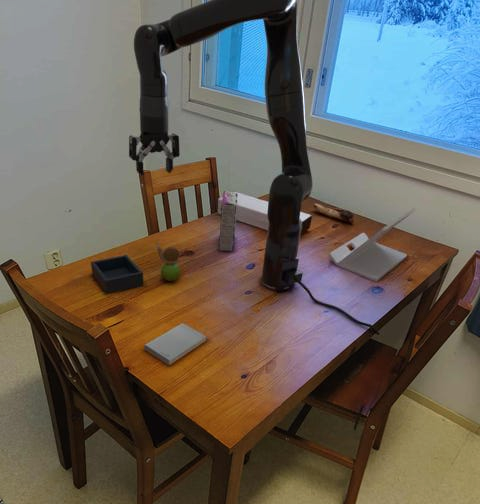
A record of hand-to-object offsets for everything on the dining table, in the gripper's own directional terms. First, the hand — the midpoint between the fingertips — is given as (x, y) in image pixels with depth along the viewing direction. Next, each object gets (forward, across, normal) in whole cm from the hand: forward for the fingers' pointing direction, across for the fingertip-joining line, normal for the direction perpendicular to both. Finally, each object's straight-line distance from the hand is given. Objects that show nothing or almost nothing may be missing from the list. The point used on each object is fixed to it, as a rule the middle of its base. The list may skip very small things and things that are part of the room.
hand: (155, 173), depth 132 cm
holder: (+25, -17, -12) cm, 33 cm away
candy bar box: (+25, +24, -4) cm, 35 cm away
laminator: (+25, +46, +6) cm, 52 cm away
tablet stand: (+25, +63, -32) cm, 75 cm away
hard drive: (+25, -15, -46) cm, 55 cm away
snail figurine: (+25, -4, -18) cm, 31 cm away
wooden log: (+25, +78, +1) cm, 82 cm away
